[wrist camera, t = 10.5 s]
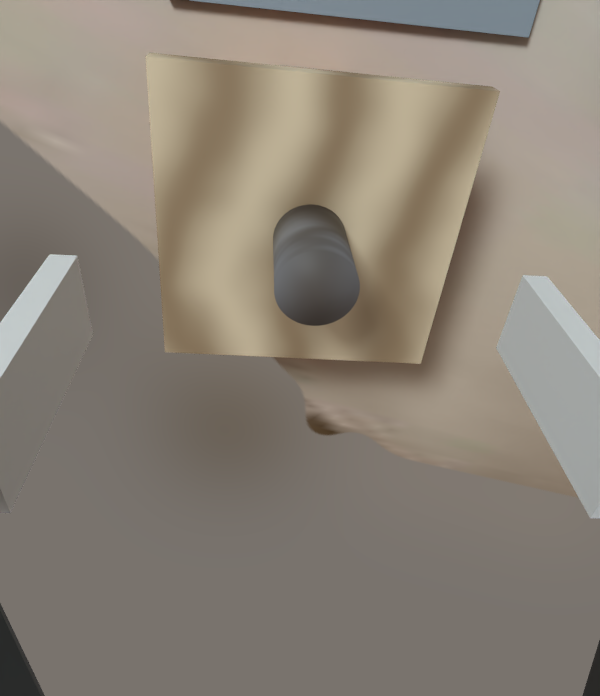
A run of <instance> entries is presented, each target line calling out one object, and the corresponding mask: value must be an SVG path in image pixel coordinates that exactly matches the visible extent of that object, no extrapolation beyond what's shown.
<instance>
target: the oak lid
mask: <svg viewBox="0 0 600 696" xmlns="http://www.w3.org/2000/svg"><path fill="white" fill-rule="evenodd" d="M146 71H147V86H148V101H149V116H150V131H151V147H152V162H153V177H154V192H155V207H156V223H157V238H158V253H159V268H160V283H161V297H162V313H163V327H164V328H163V329H164V344H165V352H175V353H196V354H218V355H240V356H263V357H283V358H305V359H327V360H349V361H371V362H393V363H415V364H421V361H422V357H423V354H424V351H425V347H426V344H427V340H428V337H429V333H430V330H431V326H432V323H433V320H434V316H435V313H436V309H437V306H438V302H439V299H440V296H441V292H442V289H443V285H444V282H445V278H446V275H447V272H448V268H449V265H450V261H451V258H452V254H453V251H454V248H455V244H456V241H457V237H458V234H459V230H460V227H461V223H462V220H463V217H464V213H465V210H466V206H467V203H468V199H469V196H470V193H471V189H472V186H473V182H474V179H475V175H476V172H477V169H478V165H479V162H480V158H481V155H482V151H483V148H484V144H485V141H486V138H487V134H488V131H489V127H490V124H491V120H492V117H493V114H494V110H495V107H496V103H497V100H498V96H499V93H500V91H498V90H497V89H495V88H493V87H490V86H479V85H469V84H459V83H449V82H439V81H429V80H419V79H409V78H399V77H389V76H379V75H369V74H358V73H348V72H338V71H328V70H318V69H308V68H298V67H288V66H278V65H268V64H258V63H248V62H237V61H227V60H217V59H207V58H197V57H187V56H177V55H167V54H157V53H149V54H148V55H147V56H146Z"/></svg>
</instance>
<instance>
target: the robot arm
mask: <svg viewBox="0 0 600 696" xmlns="http://www.w3.org/2000/svg"><path fill="white" fill-rule="evenodd" d="M92 335H93V332H92V327H91V322H90V317H89V312H88V307H87V302H86V297H85V292H84V287H83V282H82V276H81V271H80V266H79V261H78V257H77V256H73V255H72V256H71V255H49V256H48V257H47V259H46V260H45V262H44V263H43V264H42V266H41V267H40V268H39V270H38V271H37V273H36V274H35V275H34V277H33V278H32V280H31V281H30V282H29V284H28V285H27V286H26V288H25V289H24V291H23V292H22V293H21V295H20V296H19V298H18V299H17V300H16V302H15V303H14V305H13V306H12V307H11V309H10V310H9V311H8V313H7V314H6V316H5V317H4V318H3V320H2V321H1V323H0V513H10V512H11V511H12V508H13V506H14V504H15V502H16V500H17V498H18V495H19V493H20V491H21V489H22V487H23V485H24V483H25V480H26V478H27V476H28V474H29V472H30V470H31V467H32V465H33V463H34V461H35V459H36V456H37V454H38V452H39V450H40V448H41V446H42V443H43V441H44V439H45V437H46V435H47V433H48V431H49V428H50V426H51V424H52V422H53V420H54V417H55V415H56V413H57V411H58V409H59V407H60V405H61V403H62V400H63V398H64V396H65V394H66V392H67V390H68V387H69V385H70V383H71V381H72V379H73V376H74V374H75V372H76V370H77V368H78V366H79V364H80V361H81V359H82V357H83V355H84V353H85V351H86V348H87V346H88V344H89V342H90V340H91V337H92ZM496 348H497V350H498V352H499V354H500V356H501V357H502V359H503V361H504V363H505V365H506V367H507V368H508V370H509V372H510V374H511V376H512V377H513V379H514V381H515V383H516V385H517V386H518V388H519V390H520V392H521V394H522V396H523V397H524V399H525V401H526V403H527V405H528V406H529V408H530V410H531V412H532V414H533V415H534V417H535V419H536V421H537V423H538V425H539V426H540V428H541V430H542V432H543V434H544V435H545V437H546V439H547V441H548V443H549V444H550V446H551V448H552V450H553V452H554V454H555V455H556V457H557V459H558V461H559V463H560V464H561V466H562V468H563V470H564V472H565V473H566V475H567V477H568V479H569V481H570V483H571V484H572V486H573V488H574V490H575V492H576V493H577V495H578V497H579V499H580V501H581V502H582V504H583V506H584V508H585V510H586V512H587V513H588V515H589V517H590V518H600V340H599V339H598V338H597V336H596V335H595V334H594V333H593V332H592V330H591V329H590V328H589V327H588V326H587V324H586V323H585V322H584V321H583V319H582V318H581V317H580V316H579V315H578V313H577V312H576V311H575V310H574V309H573V307H572V306H571V305H570V304H569V302H568V301H567V300H566V299H565V298H564V296H563V295H562V294H561V293H560V292H559V290H558V289H557V288H556V287H555V285H554V284H553V283H552V282H551V281H550V279H549V278H548V277H547V276H526V275H523V276H522V279H521V282H520V284H519V287H518V290H517V292H516V295H515V298H514V301H513V303H512V306H511V309H510V312H509V314H508V317H507V320H506V323H505V325H504V328H503V331H502V334H501V336H500V339H499V342H498V345H497V347H496ZM0 696H45V695H44V693H43V691H42V689H41V687H40V685H39V683H38V681H37V679H36V677H35V674H34V672H33V670H32V668H31V666H30V664H29V662H28V660H27V658H26V656H25V654H24V652H23V650H22V648H21V645H20V643H19V641H18V639H17V637H16V635H15V633H14V631H13V629H12V627H11V625H10V622H9V621H8V618H7V616H6V614H5V612H4V610H3V608H2V606H1V604H0ZM583 696H600V641H599V644H598V647H597V651H596V654H595V657H594V660H593V663H592V667H591V670H590V673H589V676H588V680H587V683H586V686H585V689H584V693H583Z"/></svg>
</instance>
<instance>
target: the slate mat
mask: <svg viewBox="0 0 600 696" xmlns="http://www.w3.org/2000/svg"><path fill="white" fill-rule="evenodd" d="M191 1H200V2H209V3H218V4H227V5H236V6H245V7H255V8H264V9H273V10H282V11H291V12H300V13H309V14H318V15H328V16H337V17H346V18H355V19H364V20H373V21H382V22H392V23H401V24H410V25H419V26H428V27H437V28H446V29H455V30H465V31H474V32H483V33H492V34H501V35H510V36H519V37H529V35H530V31H531V28H532V25H533V21H534V18H535V15H536V11H537V8H538V5H539V2H540V0H191Z"/></svg>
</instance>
